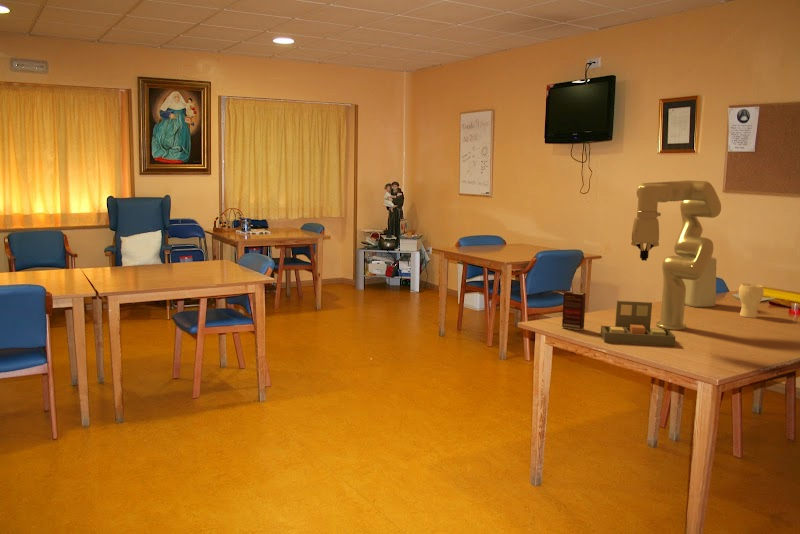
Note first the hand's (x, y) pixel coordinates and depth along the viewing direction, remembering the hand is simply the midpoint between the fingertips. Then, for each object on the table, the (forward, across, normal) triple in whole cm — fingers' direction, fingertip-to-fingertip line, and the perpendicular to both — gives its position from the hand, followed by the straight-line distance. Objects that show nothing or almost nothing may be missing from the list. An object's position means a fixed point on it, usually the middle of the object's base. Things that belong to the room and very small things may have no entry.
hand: (643, 260), depth 285 cm
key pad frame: (+32, +2, +8) cm, 33 cm away
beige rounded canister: (+34, -42, -78) cm, 95 cm away
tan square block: (+31, +10, +8) cm, 33 cm away
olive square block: (+31, -6, +7) cm, 32 cm away
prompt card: (+32, +2, -3) cm, 33 cm away
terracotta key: (+30, +2, +8) cm, 31 cm away
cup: (+34, -60, -55) cm, 88 cm away
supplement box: (+32, +26, -7) cm, 42 cm away
